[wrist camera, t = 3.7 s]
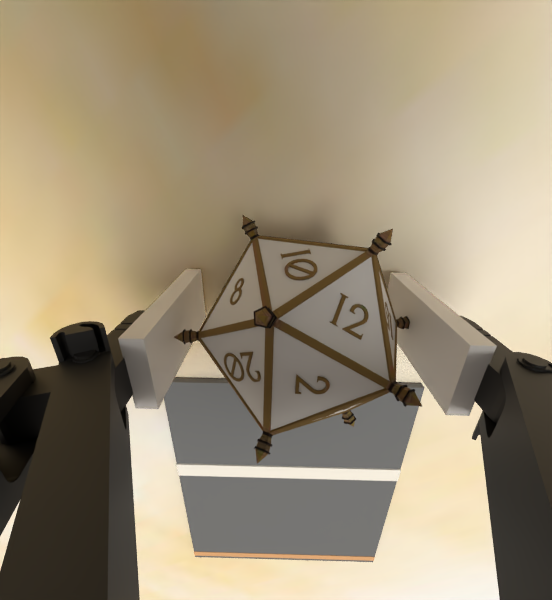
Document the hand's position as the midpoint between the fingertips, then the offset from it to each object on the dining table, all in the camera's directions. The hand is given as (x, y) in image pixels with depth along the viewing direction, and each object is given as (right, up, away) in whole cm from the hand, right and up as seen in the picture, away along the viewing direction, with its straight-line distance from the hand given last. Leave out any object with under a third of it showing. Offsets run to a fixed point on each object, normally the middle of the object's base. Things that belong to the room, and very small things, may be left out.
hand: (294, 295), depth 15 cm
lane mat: (0, -14, +7) cm, 16 cm away
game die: (0, 0, +1) cm, 1 cm away
